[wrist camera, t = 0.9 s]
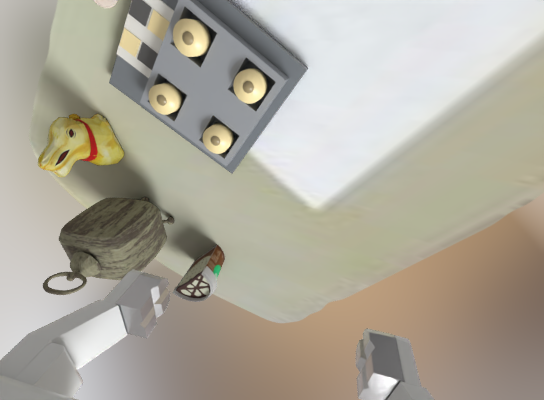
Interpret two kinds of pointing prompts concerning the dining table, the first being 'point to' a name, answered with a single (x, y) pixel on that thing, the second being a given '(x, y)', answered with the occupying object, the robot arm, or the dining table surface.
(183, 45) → the button
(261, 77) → the button
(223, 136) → the button
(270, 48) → the board
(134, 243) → the tabletop clock
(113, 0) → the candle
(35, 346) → the robot arm
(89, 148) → the chocolate bunny
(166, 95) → the button
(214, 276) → the food container
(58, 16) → the dining table surface
